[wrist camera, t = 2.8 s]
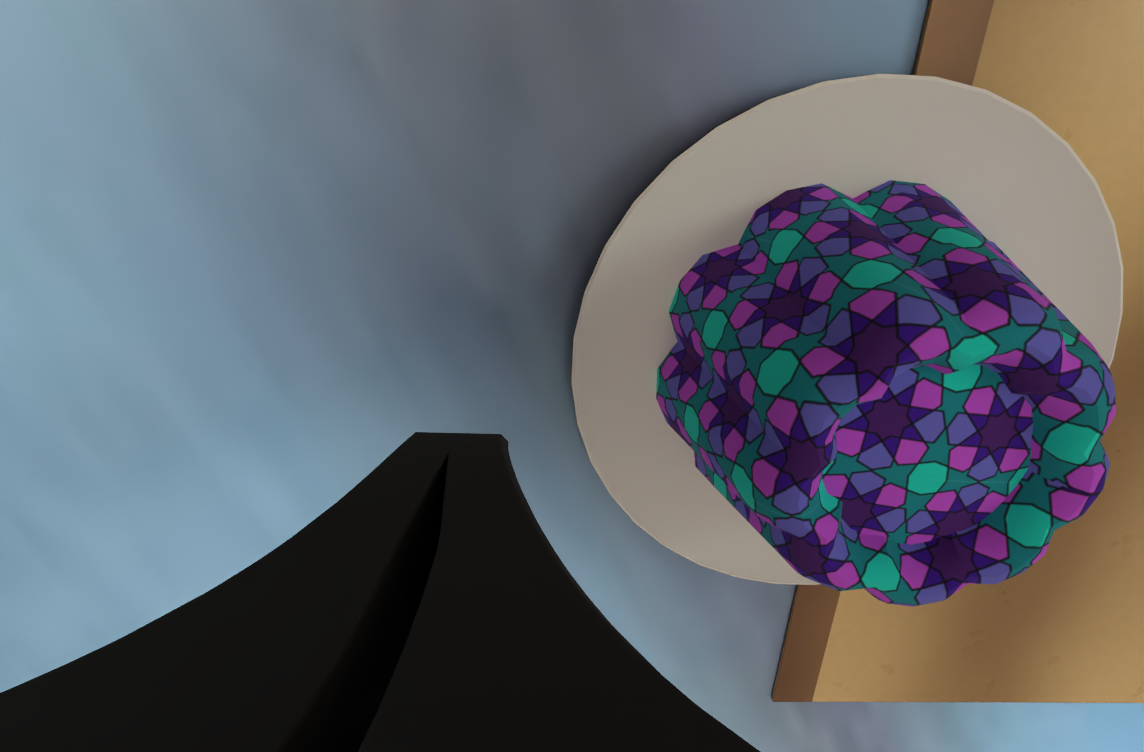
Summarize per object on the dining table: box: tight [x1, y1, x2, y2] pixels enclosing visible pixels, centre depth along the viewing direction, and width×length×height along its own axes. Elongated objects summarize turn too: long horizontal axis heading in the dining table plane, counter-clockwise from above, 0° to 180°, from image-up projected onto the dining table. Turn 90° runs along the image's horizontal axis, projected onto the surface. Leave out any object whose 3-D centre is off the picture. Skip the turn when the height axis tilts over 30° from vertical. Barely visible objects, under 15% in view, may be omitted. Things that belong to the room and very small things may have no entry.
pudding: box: [571, 74, 1123, 607], centre depth 13 cm, size 12×12×5 cm
